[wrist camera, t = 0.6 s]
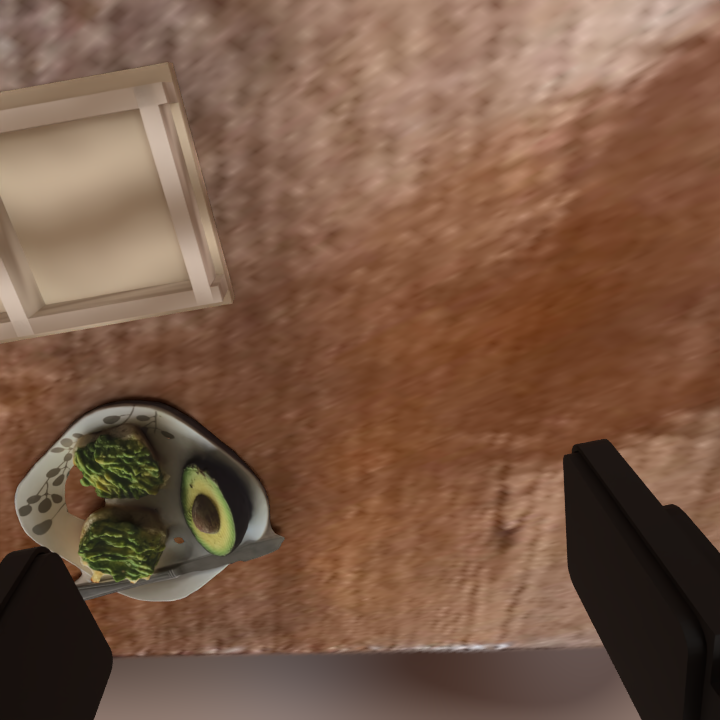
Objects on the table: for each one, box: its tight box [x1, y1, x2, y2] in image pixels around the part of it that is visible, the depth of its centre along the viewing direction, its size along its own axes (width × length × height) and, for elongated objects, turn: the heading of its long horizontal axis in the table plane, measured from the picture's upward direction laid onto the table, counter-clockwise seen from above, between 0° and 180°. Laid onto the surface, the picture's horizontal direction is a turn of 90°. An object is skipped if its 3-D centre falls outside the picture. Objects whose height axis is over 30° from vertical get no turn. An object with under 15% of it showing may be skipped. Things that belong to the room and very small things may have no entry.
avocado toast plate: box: [15, 400, 285, 601], centre depth 44 cm, size 19×18×5 cm
